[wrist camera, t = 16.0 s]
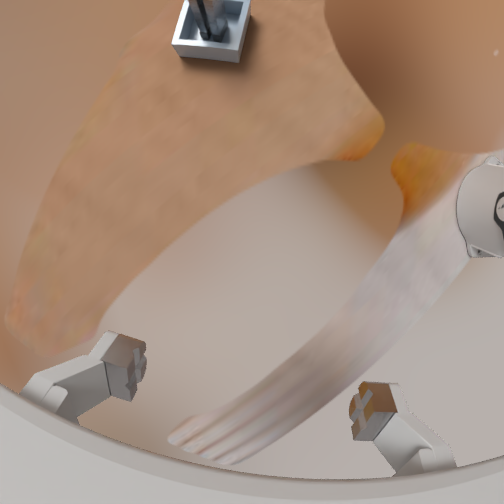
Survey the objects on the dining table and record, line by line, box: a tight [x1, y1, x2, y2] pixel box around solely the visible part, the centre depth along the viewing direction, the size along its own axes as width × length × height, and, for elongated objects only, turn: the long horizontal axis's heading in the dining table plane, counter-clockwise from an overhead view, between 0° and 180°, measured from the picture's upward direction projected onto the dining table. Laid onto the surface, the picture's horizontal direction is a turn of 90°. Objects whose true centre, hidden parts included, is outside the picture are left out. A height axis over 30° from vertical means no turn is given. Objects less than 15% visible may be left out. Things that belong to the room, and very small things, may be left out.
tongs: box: [188, 0, 228, 43], centre depth 28 cm, size 3×3×14 cm
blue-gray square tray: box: [172, 0, 251, 63], centre depth 33 cm, size 9×9×5 cm
